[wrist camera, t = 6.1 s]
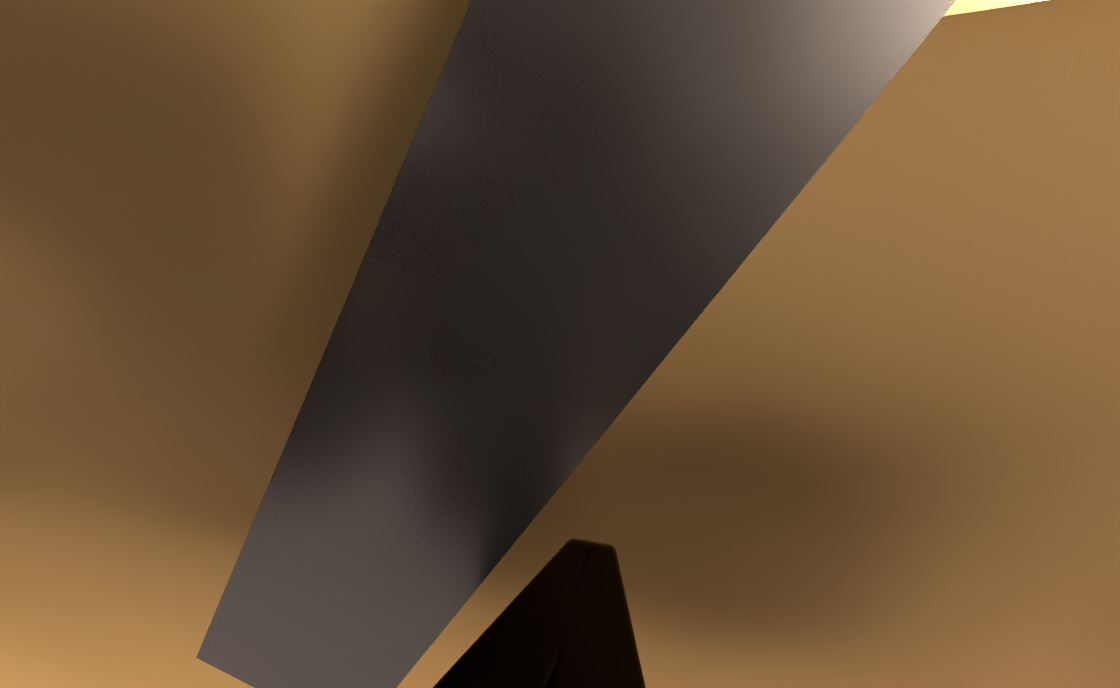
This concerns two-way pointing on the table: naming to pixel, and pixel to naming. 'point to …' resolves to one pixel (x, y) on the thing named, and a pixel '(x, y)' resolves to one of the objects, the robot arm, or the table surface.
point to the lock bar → (531, 297)
